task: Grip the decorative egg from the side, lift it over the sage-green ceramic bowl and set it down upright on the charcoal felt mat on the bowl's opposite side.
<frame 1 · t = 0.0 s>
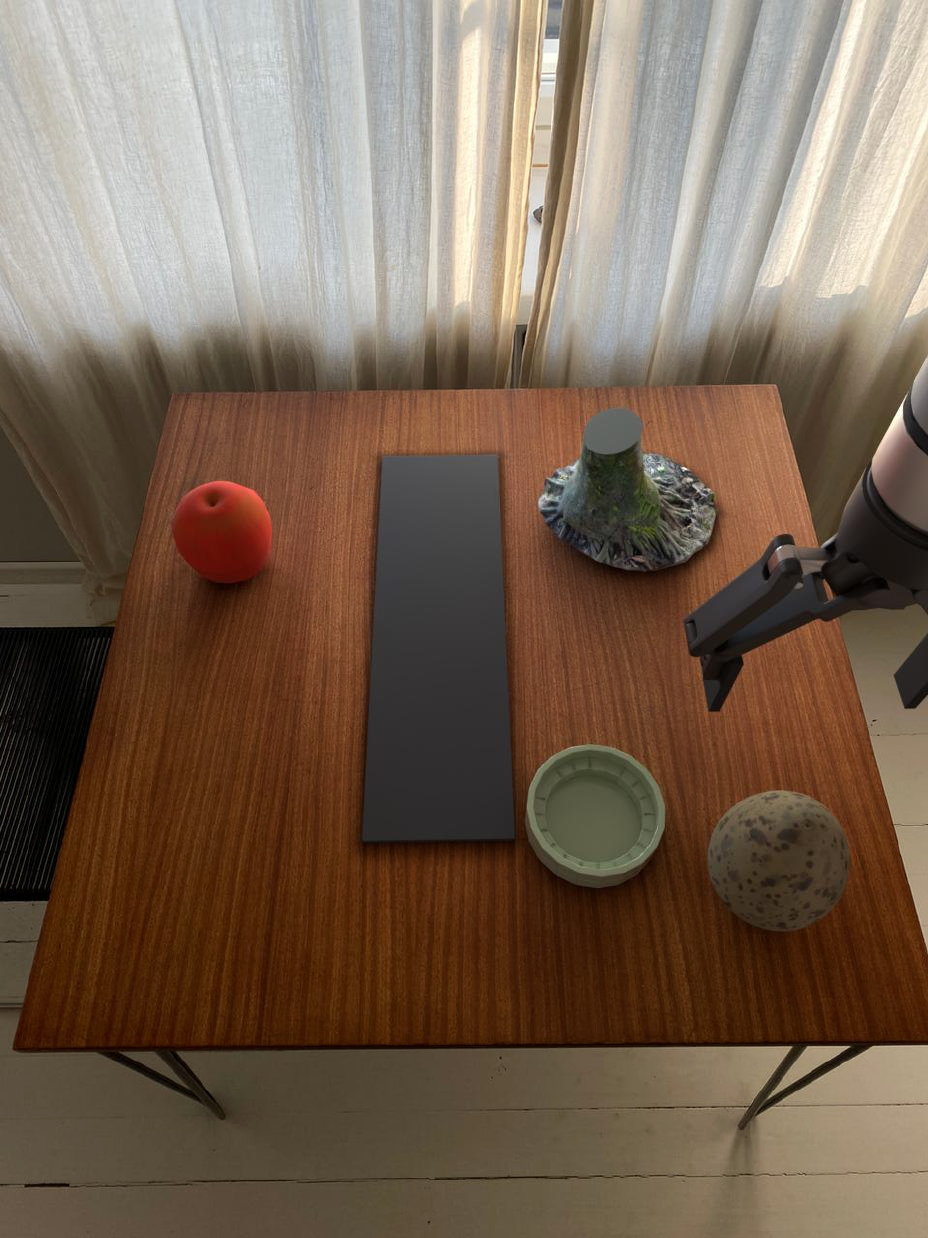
hand: (807, 693, 61), 24 cm above the table, tool pointing down, fingers open, 13 cm apart
bowl: (590, 823, 81), on the table
apple: (235, 563, 98), on the table
mat: (439, 623, 93), on the table
tree stump: (626, 518, 101), on the table
decorative egg: (754, 885, 78), on the table
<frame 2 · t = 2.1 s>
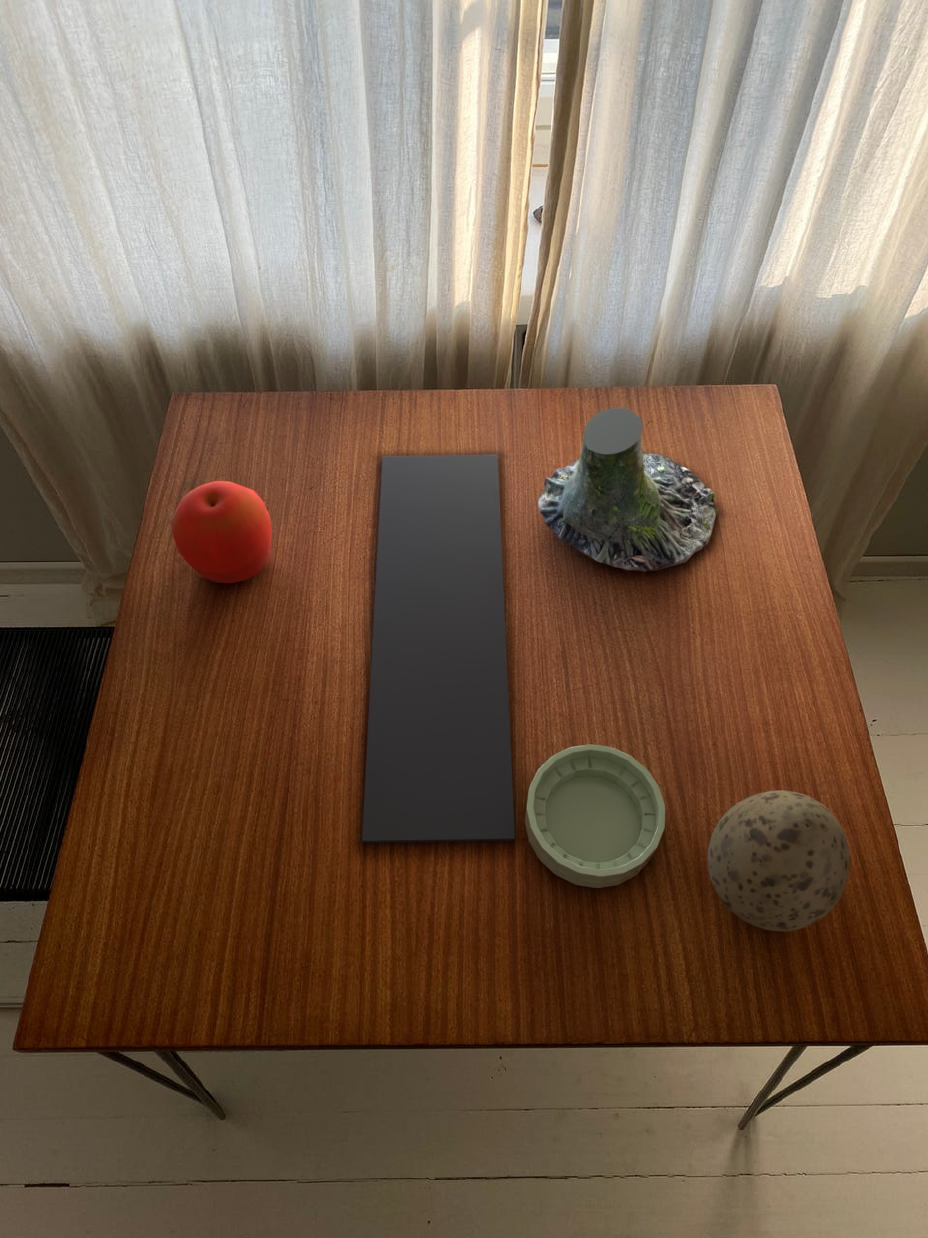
nothing on the table moved.
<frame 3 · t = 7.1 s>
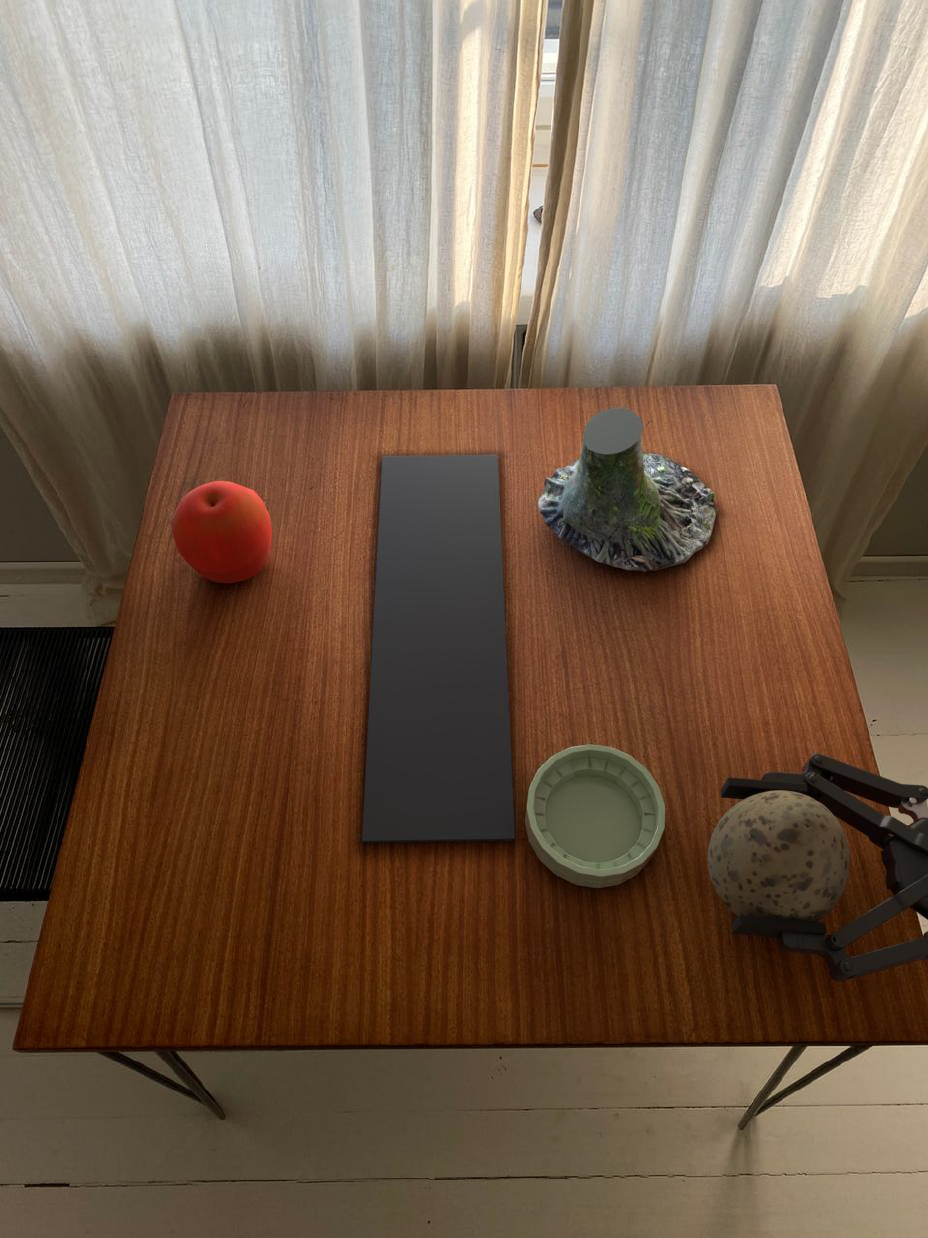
hand: (729, 853, 72), 7 cm above the table, tool horizontal, fingers closed on decorative egg, 11 cm apart
decorative egg: (754, 885, 78), on the table, touching gripper
everything else where it was.
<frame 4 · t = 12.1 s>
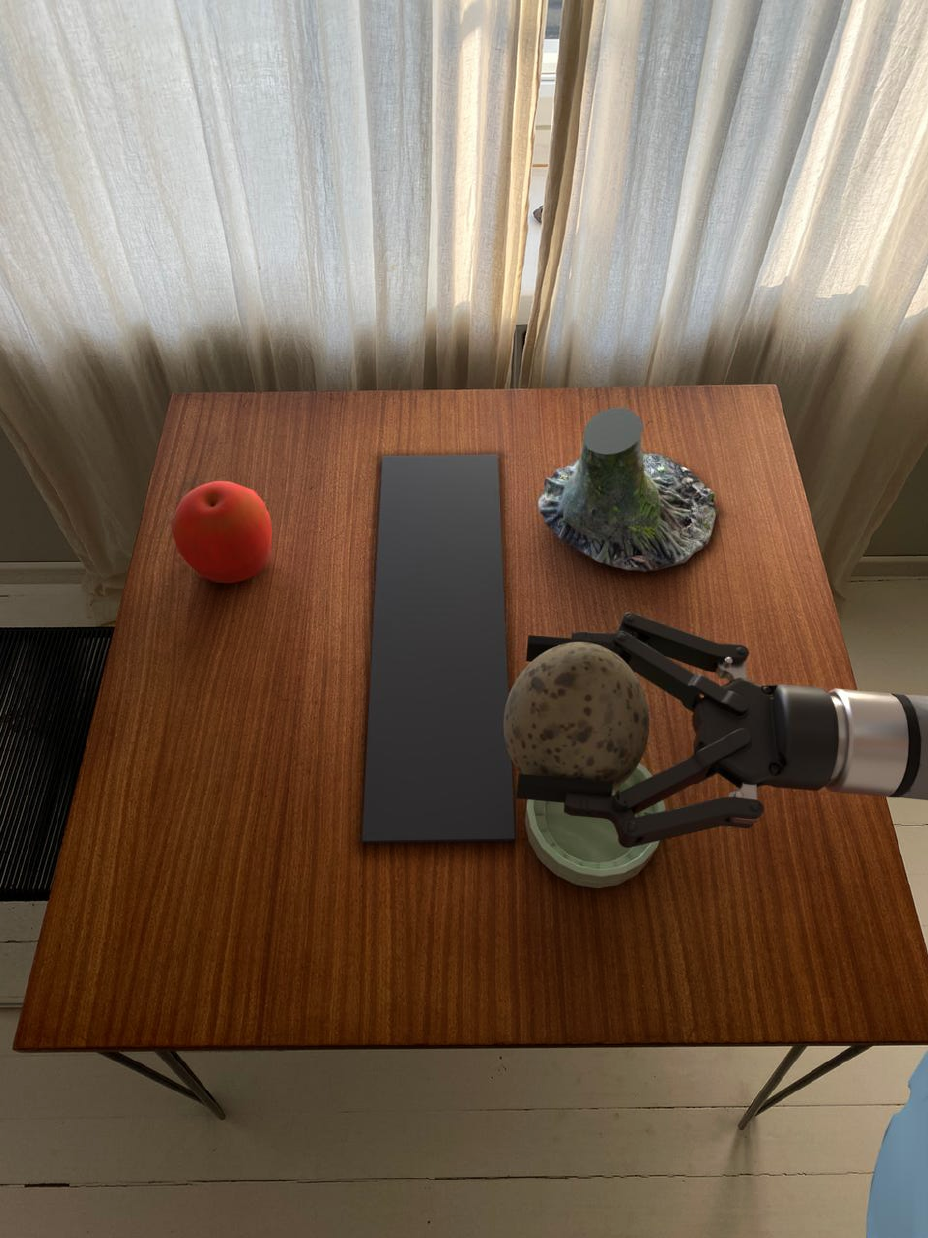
hand: (522, 714, 65), 20 cm above the table, tool horizontal, fingers closed on decorative egg, 11 cm apart
decorative egg: (567, 761, 71), point 12 cm above the table, touching gripper
everything else where it was.
when the fingers open (8 cm above the table, at t = 17.4 s): decorative egg stays where it is, resting on mat.
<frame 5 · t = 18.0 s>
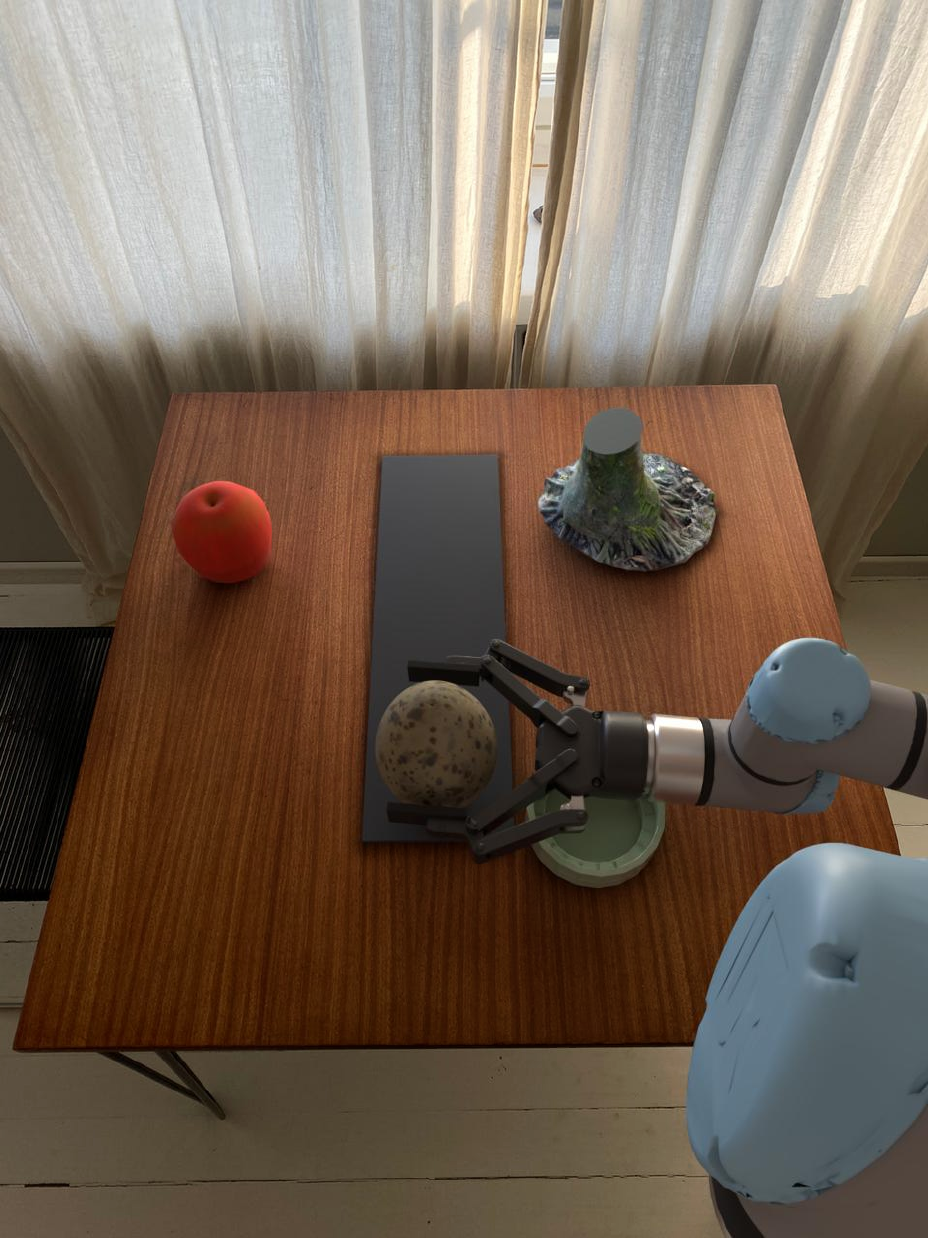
hand: (398, 737, 76), 9 cm above the table, tool horizontal, fingers open, 13 cm apart
decorative egg: (439, 779, 83), resting on mat
everything else where it was.
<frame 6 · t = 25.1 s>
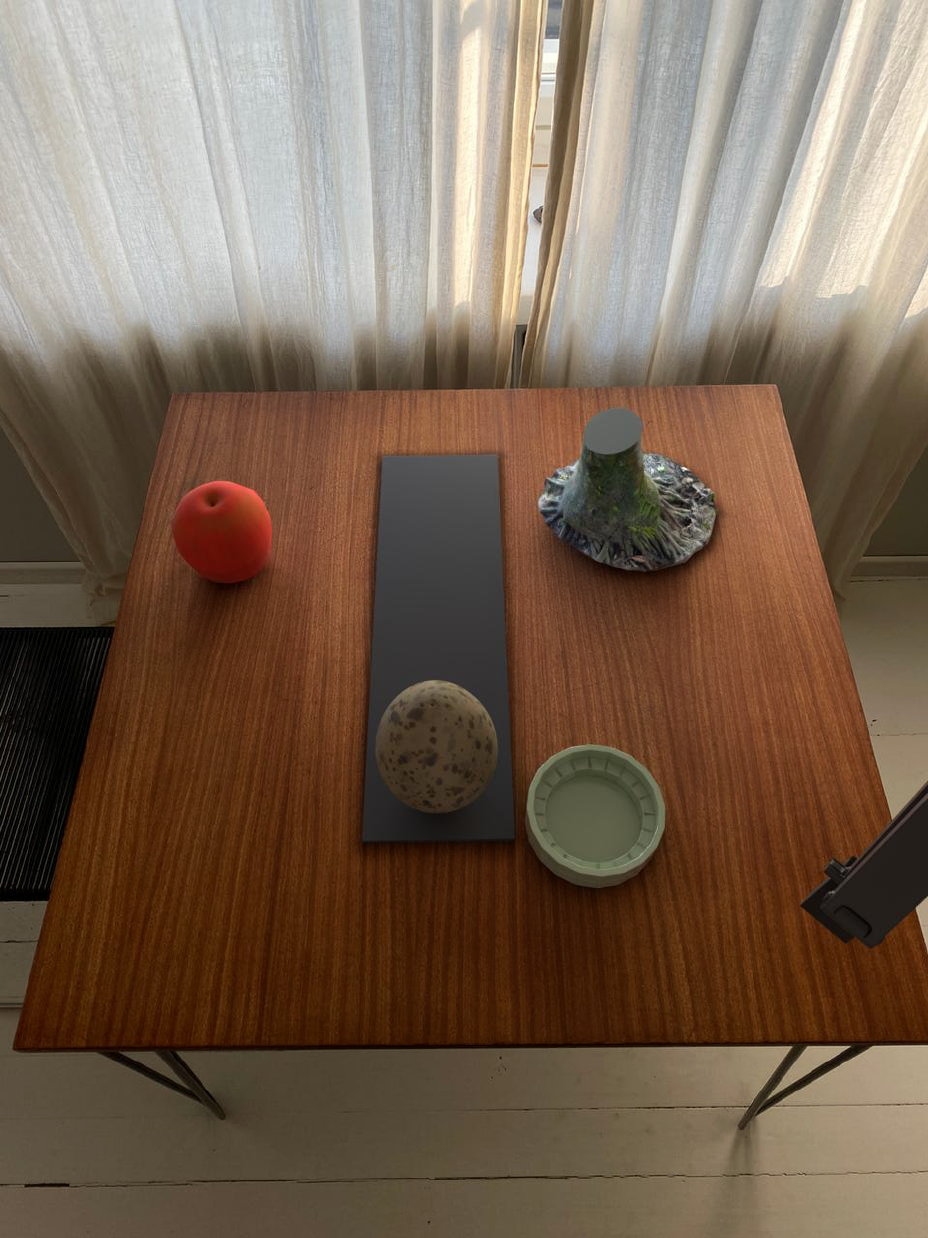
hand: (894, 829, 48), 32 cm above the table, tool pointing down, fingers open, 13 cm apart
nothing on the table moved.
at the end: decorative egg inside the target area on the table beside the bowl (0.0 cm from its centre), resting on mat; decorative egg touching mat; decorative egg tilted 0° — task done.
